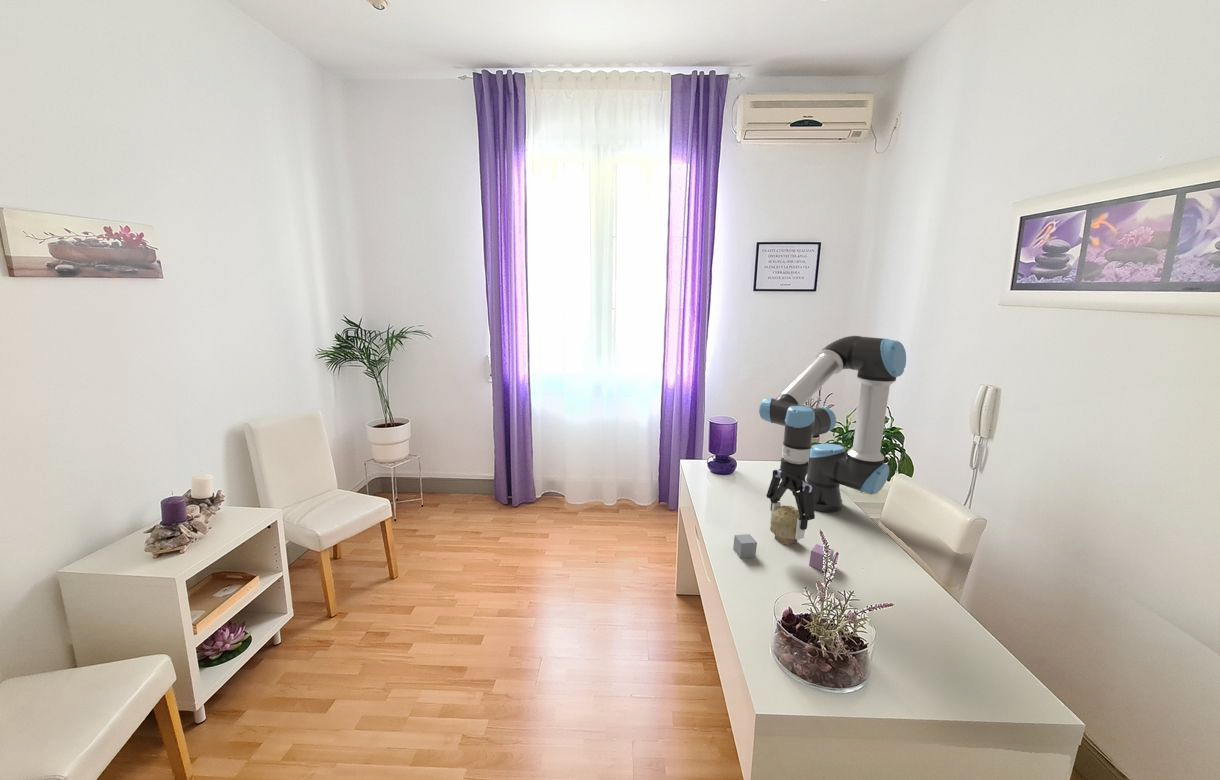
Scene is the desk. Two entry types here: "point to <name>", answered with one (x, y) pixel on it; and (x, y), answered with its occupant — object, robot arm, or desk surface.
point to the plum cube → (818, 556)
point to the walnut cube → (785, 540)
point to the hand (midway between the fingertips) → (786, 530)
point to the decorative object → (784, 522)
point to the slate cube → (745, 546)
